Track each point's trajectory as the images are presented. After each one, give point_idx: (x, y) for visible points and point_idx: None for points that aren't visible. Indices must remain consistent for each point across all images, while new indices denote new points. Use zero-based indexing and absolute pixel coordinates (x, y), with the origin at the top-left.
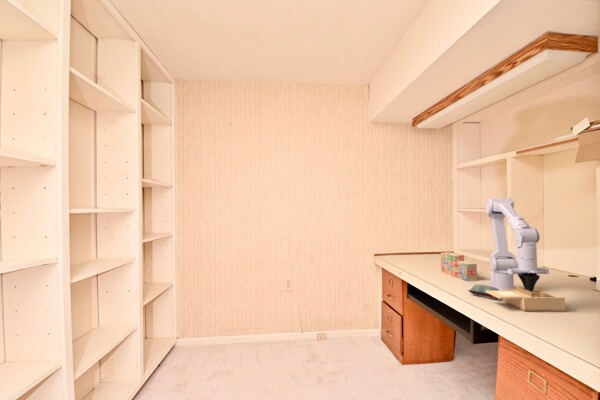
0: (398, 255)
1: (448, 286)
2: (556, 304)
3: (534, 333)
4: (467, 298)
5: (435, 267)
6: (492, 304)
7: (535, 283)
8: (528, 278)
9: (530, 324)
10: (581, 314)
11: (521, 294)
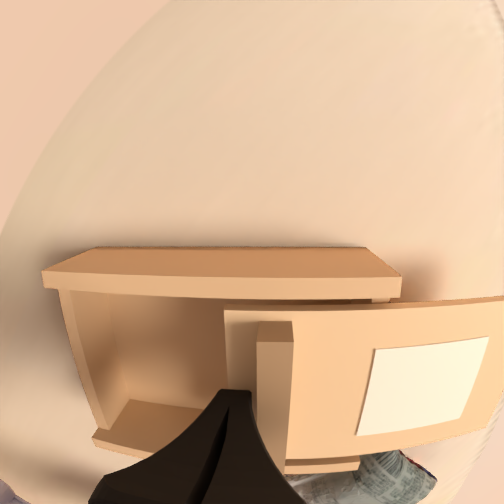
0: None
1: None
2: (121, 258)
3: (484, 3)
4: None
5: None
6: None
7: (173, 442)
8: (286, 498)
9: (460, 67)
10: (52, 207)
11: (329, 379)
